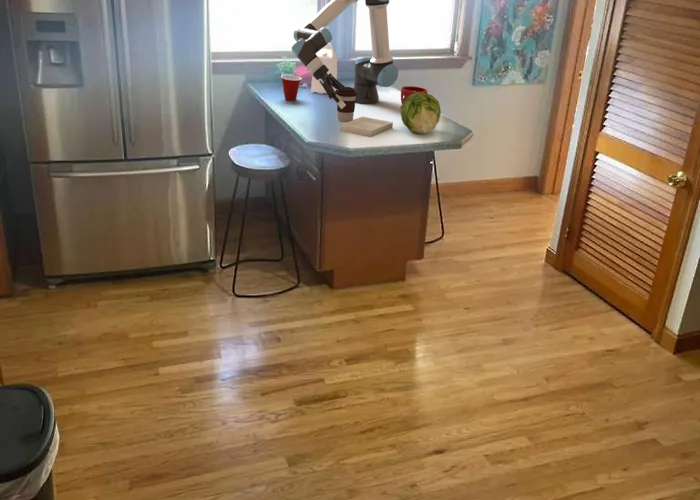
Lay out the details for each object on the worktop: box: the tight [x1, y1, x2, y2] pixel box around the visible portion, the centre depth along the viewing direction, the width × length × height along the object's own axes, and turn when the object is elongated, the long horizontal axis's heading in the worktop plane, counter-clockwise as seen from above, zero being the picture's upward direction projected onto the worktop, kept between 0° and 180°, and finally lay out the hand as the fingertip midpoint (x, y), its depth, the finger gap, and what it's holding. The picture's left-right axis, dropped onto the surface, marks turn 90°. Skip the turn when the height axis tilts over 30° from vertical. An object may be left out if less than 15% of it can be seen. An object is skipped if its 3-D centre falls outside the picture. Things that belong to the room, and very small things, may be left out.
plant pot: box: [400, 85, 428, 110], centre depth 366 cm, size 13×13×12 cm
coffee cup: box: [335, 86, 357, 122], centre depth 344 cm, size 10×10×15 cm
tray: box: [339, 116, 394, 138], centre depth 331 cm, size 20×16×3 cm
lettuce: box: [400, 93, 442, 135], centre depth 329 cm, size 18×23×19 cm
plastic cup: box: [280, 74, 303, 102], centre depth 378 cm, size 11×11×12 cm
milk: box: [310, 42, 338, 94], centre depth 398 cm, size 12×12×26 cm
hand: (347, 104), depth 343 cm, fingers open, 13 cm apart
